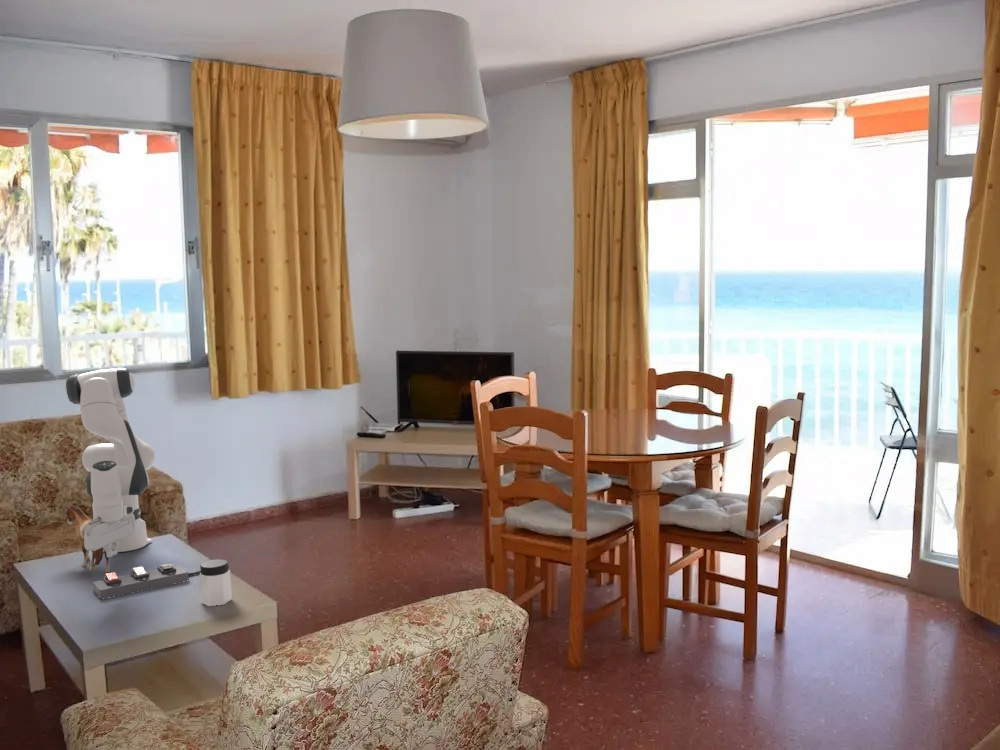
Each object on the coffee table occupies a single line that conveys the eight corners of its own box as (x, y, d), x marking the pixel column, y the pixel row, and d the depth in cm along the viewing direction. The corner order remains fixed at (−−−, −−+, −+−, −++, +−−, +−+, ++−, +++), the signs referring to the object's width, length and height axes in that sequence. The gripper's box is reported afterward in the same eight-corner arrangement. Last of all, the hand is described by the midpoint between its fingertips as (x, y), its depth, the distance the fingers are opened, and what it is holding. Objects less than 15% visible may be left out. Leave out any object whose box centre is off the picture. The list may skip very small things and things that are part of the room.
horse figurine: (68, 561, 327) (63, 504, 324) (91, 556, 332) (86, 500, 329) (94, 582, 303) (89, 520, 300) (118, 576, 308) (113, 516, 305)
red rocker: (105, 578, 295) (105, 573, 294) (114, 576, 296) (114, 571, 296) (109, 584, 291) (109, 579, 290) (118, 582, 292) (118, 577, 292)
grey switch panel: (93, 591, 294) (92, 579, 293) (199, 569, 313) (198, 558, 312) (100, 599, 286) (99, 587, 285) (208, 576, 305) (208, 565, 304)
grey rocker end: (160, 570, 304) (160, 565, 304) (169, 568, 306) (168, 563, 306) (164, 570, 300) (163, 565, 300) (173, 568, 302) (172, 564, 302)
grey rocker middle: (133, 572, 300) (133, 567, 299) (142, 570, 301) (142, 565, 301) (137, 579, 296) (137, 574, 295) (146, 577, 297) (146, 572, 297)
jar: (236, 601, 281) (234, 562, 280) (212, 608, 275) (209, 569, 274) (221, 594, 287) (218, 557, 286) (197, 602, 281) (194, 563, 280)
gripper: (94, 523, 280) (98, 567, 281) (137, 505, 299) (140, 546, 301) (76, 522, 281) (80, 566, 283) (120, 504, 301) (124, 545, 302)
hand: (112, 555), depth 292 cm, fingers closed
